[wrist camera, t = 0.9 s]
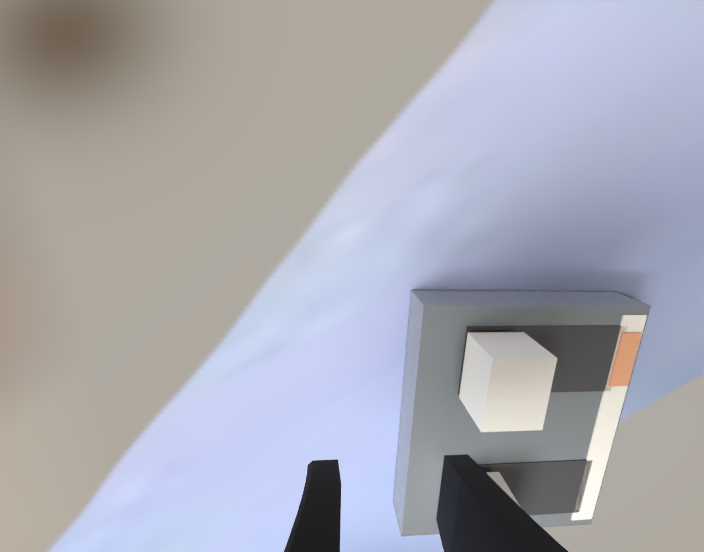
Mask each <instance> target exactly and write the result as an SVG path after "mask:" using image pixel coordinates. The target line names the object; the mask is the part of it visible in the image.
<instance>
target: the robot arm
mask: <svg viewBox="0 0 704 552" xmlns="http://www.w3.org/2000/svg"><path fill="white" fill-rule="evenodd" d="M340 510H341V481H340V472H339V465H338V460H318V461H312V462H311V463H310V464H308V470H307V477H306V483H305V487H304V491H303V495H302V499H301V503H300V506H299V510H298V513H297V516H296V519H295V522H294V525H293V528H292V531H291V534H290V536H289V539H288V542H287V545H286V548H285V550H284V552H340ZM436 521H437V525H438V529H439V533H440V537H441V541H442V545H443V549H444V552H568V551H567V550H566V549H564V548H563V547H562V546H561V545H560V544H559V543H558V542H556V540H554V539H553V538H552V537H551V536H550V535H549V534H548V533H547V532H546V531H545V530H544V529H543V528H542V527H541V526H540V525H538V524H537V523H536V522H535V521H534V520H533V519H532V518H531V517H530V516H529V515H528V514H527V513H526V512H525V511H524V510H523V509H522V508H521V507H520V506H519V505H518V504H517V503H516V502H515V501H514V500H513V499H512V498H511V497H510V496H509V495H508V494H507V493H506V492H505V491H504V490H503V489H502V488H501V487H500V486H499V485H498V484H497V483H496V482H495V481H494V480H493V479H492V478H491V477H490V476H489V475H488V474H487V473H486V472H485V471H484V470H483V469H482V468H481V467H480V466H479V465H478V464H477V463H476V462H475V461H474V460H473V459H472V458H471V457H470V456H469V455H468V454H463V455H444V462H443V470H442V477H441V485H440V493H439V501H438V509H437V517H436Z"/></svg>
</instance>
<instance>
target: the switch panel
mask: <svg viewBox="0 0 704 552" xmlns="http://www.w3.org/2000/svg"><path fill="white" fill-rule="evenodd" d="M649 310H650V306H649V305H647V304H644V303H642V302H639V301H637V300H635V299H632V298H630V297H627V296H625V295H622V294H620V293H617V292H615V291H478V290H411V298H410V310H409V321H408V333H407V345H406V356H405V368H404V380H403V391H402V403H401V414H400V426H399V438H398V449H397V461H396V473H395V484H394V496H393V503H394V508H395V512H396V516H397V520H398V524H399V529H400V533H401V536H414V535H429V534H440V533H439V529H438V525H437V521H436V517H437V509H438V501H439V493H440V485H441V477H442V470H443V462H444V455H463V454H468V455H469V456H470V457H471V458H472V459H473V460H474V461H475V462H476V463H477V464H478V465H479V466H480V467H481V468H482V469H483V470H484V471H485V472H499V473H500V474H501V476H502V477H503V479H504V481H505V482H506V484H507V486H508V487H509V489H510V491H511V492H512V494H513V495H514V497H515V499H516V500H517V502H518V504H519V505H520V507H521V508H522V509H523V510H524V511H525V512H526V513H527V514H528V515H529V516H530V517H531V518H532V519H533V520H534V521H535V522H536V523H537V524H538V525H540V526H541V527H554V526H568V525H585V524H591V522H592V519H593V515H594V511H595V508H596V504H597V500H598V497H599V493H600V489H601V486H602V482H603V478H604V475H605V471H606V467H607V464H608V460H609V456H610V453H611V449H612V445H613V441H614V438H615V434H616V430H617V427H618V423H619V420H620V416H621V413H622V409H623V405H624V402H625V398H626V394H627V391H628V387H629V383H630V380H631V376H632V372H633V369H634V365H635V361H636V358H637V354H638V350H639V347H640V343H641V339H642V336H643V332H644V328H645V325H646V321H647V317H648V314H649ZM468 332H524V333H526V334H527V335H528V336H530V337H531V338H532V339H533V340H535V341H536V342H537V343H539V344H540V345H541V346H542V347H544V348H545V349H546V350H548V351H549V352H550V353H551V354H553V355H554V356H555V357H557V363H556V368H555V372H554V377H553V382H552V387H551V391H550V396H549V401H548V406H547V411H546V415H545V420H544V425H543V430H532V431H504V432H481V431H480V430H479V428H478V427H477V425H476V423H475V422H474V420H473V419H472V417H471V415H470V414H469V412H468V411H467V409H466V408H465V406H464V404H463V403H462V401H461V400H460V398H459V394H460V386H461V379H462V371H463V364H464V356H465V349H466V341H467V334H468Z"/></svg>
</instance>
